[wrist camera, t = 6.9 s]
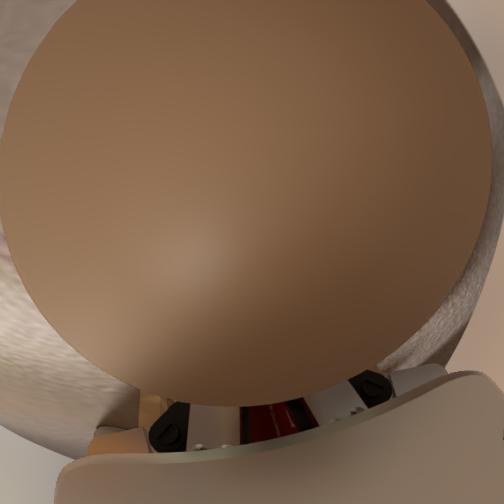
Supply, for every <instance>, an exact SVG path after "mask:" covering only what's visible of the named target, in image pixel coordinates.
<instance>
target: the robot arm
mask: <svg viewBox="0 0 504 504" xmlns="http://www.w3.org/2000/svg"><path fill="white" fill-rule="evenodd" d="M283 404H284V406H285V408H286V410H287V412H288V414H289V416H290V418H291V419H292V421H293V423H294V425H295V427H296V429H297V431H298V433H296V434H292V435H288V436H284V437H280V438H275V439H271V440H266V441H261V442H256V443H251V427H250V410H249V409H250V408H251V406H243V407H220V406H205V405H198V404H191V403H185V402H179V401H176V402H175V403H174V404H173V405H172V406H171V407H170V408H169V409H168V410H167V411H166V412H165V413H164V414H162V415H161V416H160V417H159V418H158V419H157V420H156V421H155V422H154V423H153V425H152V426H151V427H148V428H143V427H138V428H134V429H130V430H126V431H121V432H116V433H111V434H106V435H101V436H97V437H95V438H93V439H92V440H91V441H90V443H89V445H88V457H84V458H81V459H78V460H75V461H73V462H71V463H69V464H68V465H66V466H65V467H64V468H63V469H62V470H61V472H60V473H59V476H58V478H57V482H56V488H55V494H54V504H504V393H503V392H502V391H501V389H500V388H499V387H498V386H497V384H496V383H495V382H494V381H493V380H492V379H491V378H490V377H489V376H487V375H486V374H484V373H482V372H479V371H458V372H453V373H450V374H448V373H447V371H446V369H445V368H444V367H443V366H441V365H439V364H436V363H430V364H426V365H422V366H418V367H413V368H408V369H404V370H399V371H394V372H389V374H388V375H384V376H383V375H381V374H379V373H376V372H373V371H370V370H365V371H364V372H362V373H360V374H358V375H356V376H354V377H352V378H350V379H348V380H346V381H344V382H342V383H340V384H337V385H335V386H333V387H330V388H328V389H325V390H323V391H320V392H317V393H314V394H311V395H307V396H304V397H301V398H297V399H293V400H288V401H284V402H283Z"/></svg>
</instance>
